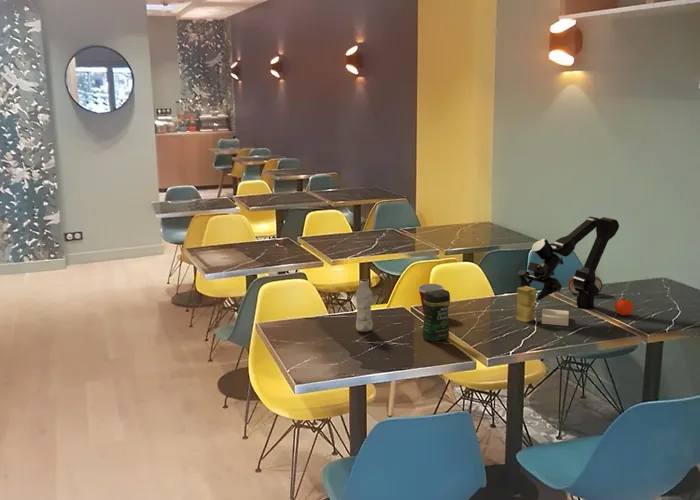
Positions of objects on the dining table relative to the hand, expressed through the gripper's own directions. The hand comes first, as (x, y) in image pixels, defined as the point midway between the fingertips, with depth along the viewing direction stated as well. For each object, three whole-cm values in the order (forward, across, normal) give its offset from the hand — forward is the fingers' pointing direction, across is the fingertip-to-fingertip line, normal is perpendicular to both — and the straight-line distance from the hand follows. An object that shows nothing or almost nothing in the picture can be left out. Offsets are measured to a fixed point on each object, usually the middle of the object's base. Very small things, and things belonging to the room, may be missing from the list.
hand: (528, 297), depth 285 cm
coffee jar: (+39, -5, -25) cm, 46 cm away
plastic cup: (+26, -27, -13) cm, 40 cm away
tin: (-28, -8, +40) cm, 50 cm away
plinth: (+2, +8, +11) cm, 14 cm away
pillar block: (+7, 0, +5) cm, 9 cm away
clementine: (-18, +21, +31) cm, 42 cm away
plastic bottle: (+50, -28, -36) cm, 68 cm away
